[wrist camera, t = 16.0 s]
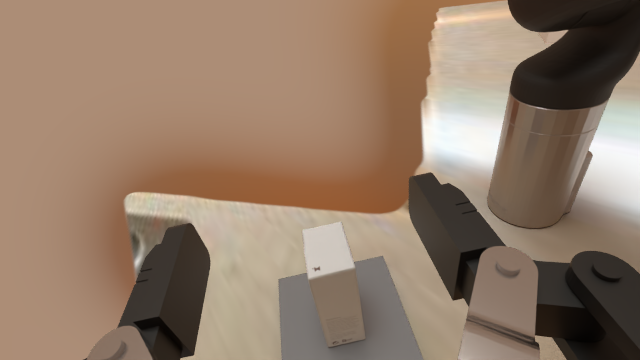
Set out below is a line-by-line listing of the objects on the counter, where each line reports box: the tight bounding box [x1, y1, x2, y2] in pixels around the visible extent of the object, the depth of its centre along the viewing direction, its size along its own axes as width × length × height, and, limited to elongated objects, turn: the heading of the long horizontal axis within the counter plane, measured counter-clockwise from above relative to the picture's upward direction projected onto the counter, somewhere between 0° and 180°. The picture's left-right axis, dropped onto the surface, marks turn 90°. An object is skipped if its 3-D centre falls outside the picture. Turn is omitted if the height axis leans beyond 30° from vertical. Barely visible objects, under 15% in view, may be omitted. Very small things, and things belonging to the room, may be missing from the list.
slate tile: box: [278, 256, 423, 360], centre depth 36 cm, size 14×14×1 cm
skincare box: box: [302, 222, 365, 347], centre depth 32 cm, size 6×4×12 cm
